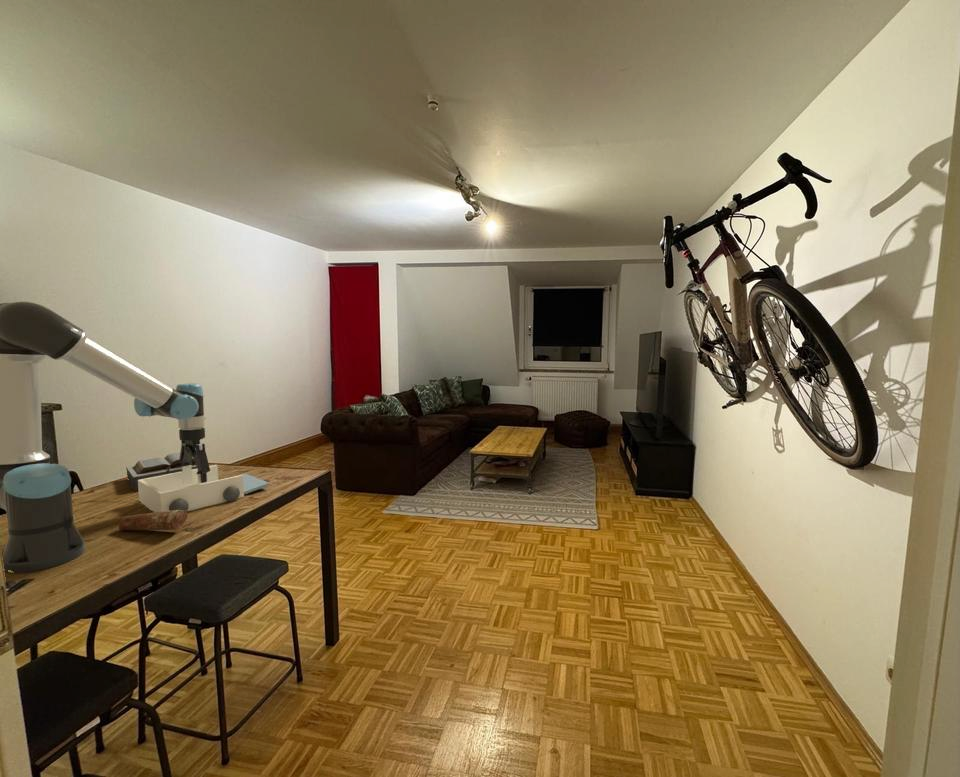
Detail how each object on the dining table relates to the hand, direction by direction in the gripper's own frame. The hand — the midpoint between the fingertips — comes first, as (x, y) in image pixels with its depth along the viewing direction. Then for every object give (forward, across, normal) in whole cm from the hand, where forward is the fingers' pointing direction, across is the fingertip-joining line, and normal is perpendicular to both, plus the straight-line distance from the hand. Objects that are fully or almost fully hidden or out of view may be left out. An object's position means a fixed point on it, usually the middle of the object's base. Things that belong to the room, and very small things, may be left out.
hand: (195, 487), depth 155 cm
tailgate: (+3, 0, -12) cm, 13 cm away
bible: (+5, +32, -2) cm, 32 cm away
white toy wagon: (+4, 0, +1) cm, 4 cm away
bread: (+6, -22, +17) cm, 29 cm away
